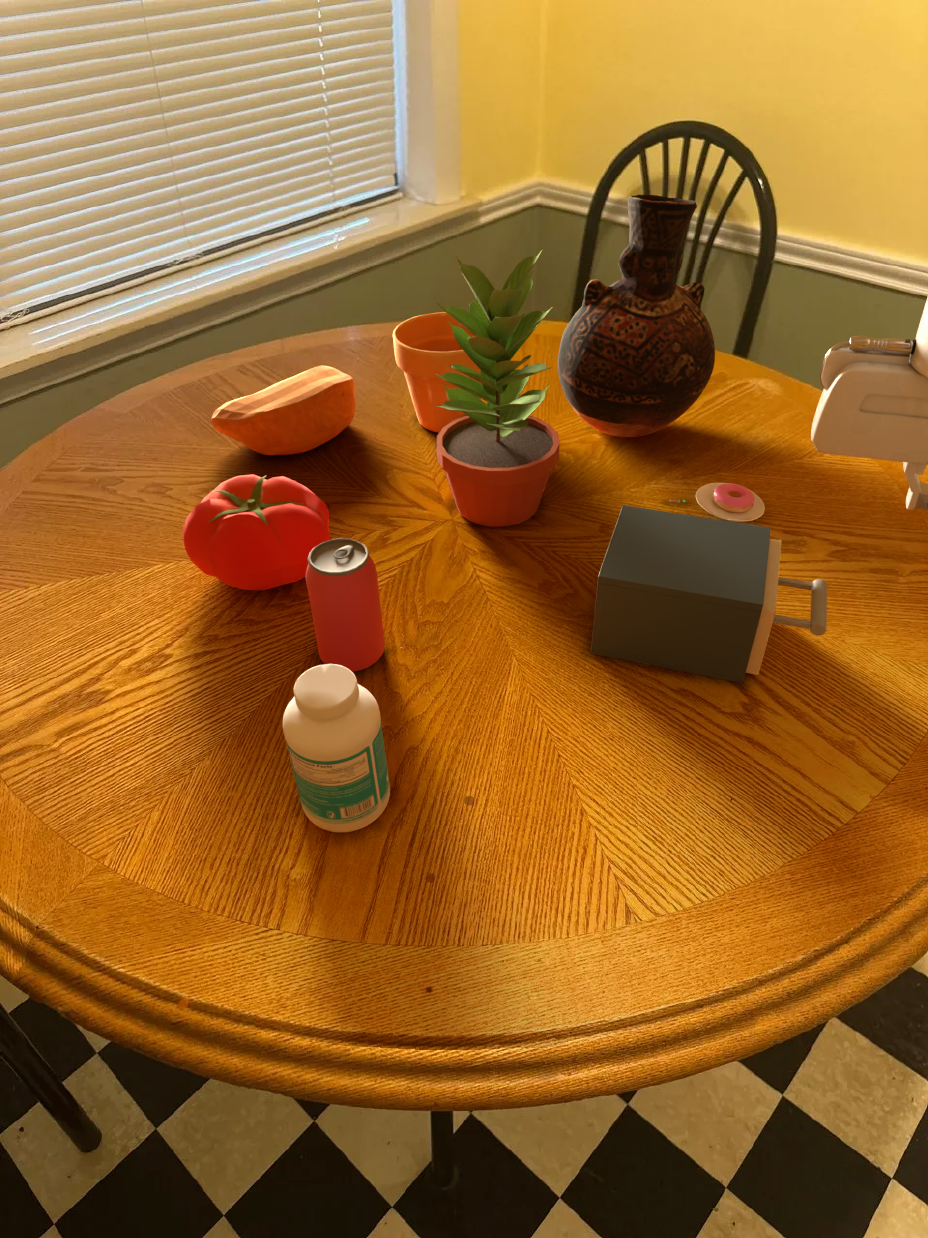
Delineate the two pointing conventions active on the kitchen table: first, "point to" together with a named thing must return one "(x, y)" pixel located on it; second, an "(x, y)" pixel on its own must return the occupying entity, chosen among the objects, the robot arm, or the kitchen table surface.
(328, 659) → the beer can
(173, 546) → the kitchen table surface
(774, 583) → the wooden pull-out drawer
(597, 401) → the ceramic vessel
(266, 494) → the tomato
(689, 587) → the drawer cabinet
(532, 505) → the potted plant
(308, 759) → the pill bottle
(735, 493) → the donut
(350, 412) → the orange oblong lump
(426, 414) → the flower pot
